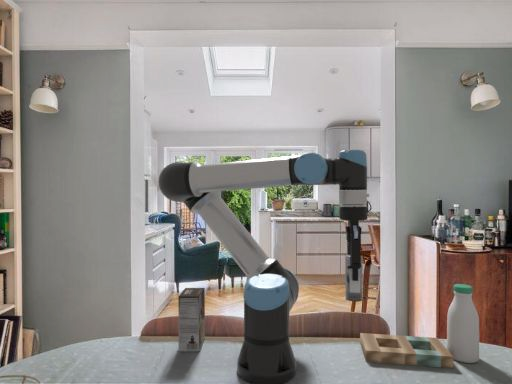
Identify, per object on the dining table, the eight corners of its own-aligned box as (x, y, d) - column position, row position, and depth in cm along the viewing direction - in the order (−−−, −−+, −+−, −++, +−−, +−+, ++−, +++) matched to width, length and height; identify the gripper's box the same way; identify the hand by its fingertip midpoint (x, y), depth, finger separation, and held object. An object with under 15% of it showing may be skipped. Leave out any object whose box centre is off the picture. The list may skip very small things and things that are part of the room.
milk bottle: (484, 365, 93) (484, 290, 93) (452, 362, 95) (452, 288, 95) (472, 352, 101) (472, 282, 101) (443, 350, 102) (443, 281, 102)
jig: (365, 361, 95) (365, 350, 95) (360, 342, 107) (360, 332, 107) (453, 368, 91) (453, 356, 91) (437, 348, 103) (437, 337, 103)
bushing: (346, 301, 96) (345, 257, 96) (344, 296, 100) (344, 254, 100) (363, 301, 95) (363, 257, 95) (361, 297, 100) (361, 254, 100)
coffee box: (184, 338, 110) (184, 287, 110) (205, 338, 110) (205, 287, 110) (177, 351, 101) (178, 295, 101) (200, 351, 101) (200, 295, 101)
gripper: (372, 207, 88) (372, 299, 88) (362, 204, 106) (363, 282, 106) (341, 207, 90) (342, 298, 90) (337, 204, 107) (338, 281, 107)
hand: (353, 289), depth 98 cm, fingers closed on bushing, 5 cm apart
